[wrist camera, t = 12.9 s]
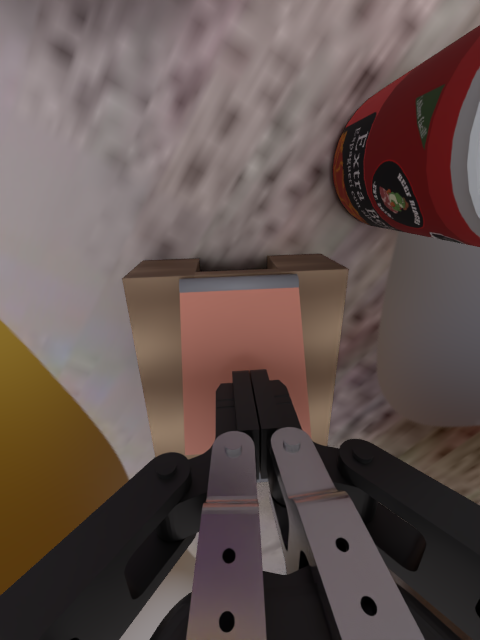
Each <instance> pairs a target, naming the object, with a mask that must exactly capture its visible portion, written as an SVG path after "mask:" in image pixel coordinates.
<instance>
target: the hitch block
mask: <svg viewBox="0 0 480 640" xmlns="http://www.w3.org/2000/svg"><path fill="white" fill-rule="evenodd" d="M348 272H349V269H348V268H346V267H344V266H342V265H340V264H339V263H337V262H335V261H333V260H331V259H329V258H328V257H326V256H324V255H322V254H302V255H276V256H267V269H256V270H232V271H207V272H200V263H199V258H198V259H172V260H146V261H142V262H141V263H140V264H138V265H137V266H136V267H135V268H134V269H133V270H132V271H130V272H129V273H128V274H127V275H126V276H125V277H124V278H122V280H123V285H124V290H125V296H126V301H127V306H128V312H129V317H130V323H131V328H132V333H133V339H134V344H135V349H136V355H137V360H138V366H139V371H140V376H141V382H142V387H143V392H144V398H145V403H146V408H147V414H148V419H149V425H150V430H151V435H152V441H153V446H154V451H155V457H157V456H159V455H161V454H164V453H168V452H177V453H180V454H182V455H184V456H185V457H186V458H187V459H191V458H194V457H197V456H199V455H201V454H196V455H185V439H184V409H183V380H182V350H181V320H180V292H179V279H188V278H212V277H235V276H259V275H283V274H297V275H298V279H299V296H300V307H301V319H302V331H303V343H304V355H305V367H306V379H307V391H308V403H309V415H310V427H311V439H312V441H313V442H315V443H317V444H320V445H323V446H327V442H328V434H329V426H330V418H331V409H332V401H333V393H334V385H335V377H336V369H337V361H338V353H339V345H340V336H341V328H342V320H343V312H344V304H345V296H346V288H347V280H348Z"/></svg>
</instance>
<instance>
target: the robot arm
mask: <svg viewBox="0 0 480 640" xmlns="http://www.w3.org/2000/svg"><path fill="white" fill-rule="evenodd" d="M259 469H260V476H261V479H268V481H269V487H270V504H271V508H272V512H273V516H274V519H275V523H276V527H277V531H278V535H279V539H280V543H281V547H282V551H283V555H284V560H285V565H286V575H280V574H275V573H270V572H265V571H263V570H262V553H261V536H260V519H259V504H258V499H257V480H259ZM380 503H381V504H380ZM383 505H384V506H385V507H384V506H383ZM387 508H388V509H387ZM390 510H391V511H390ZM394 513H395V514H394ZM397 515H398V516H397ZM400 517H401V518H402V519H401V518H400ZM404 520H405V521H404ZM407 522H408V523H407ZM410 524H411V525H412V526H411V525H410ZM414 527H415V528H414ZM197 532H199V538H198V546H197V555H196V563H195V571H194V579H193V587H192V592H191V593H189V594H188V595H187V596H185V597H184V598H183V599H182V600H180V601H179V602H178V603H177V604H176V605H175V606H174V607H173V608H172V609H171V610H170V611H169V613H168V614H167V615H166V616H165V618H164V619H163V620H162V622H161V623H160V625H159V626H158V627H157V629H156V631H155V632H154V634H153V635H152V637H151V638H150V640H462V639H461V638H460V637H459V636H457V635H456V634H455V633H454V632H453V631H452V630H451V629H450V628H448V627H447V626H446V625H445V624H444V623H443V622H442V621H441V620H440V619H438V618H437V617H436V616H435V615H434V614H433V613H432V612H431V611H430V610H428V609H427V608H426V607H425V606H424V605H423V604H422V603H421V602H420V601H418V600H417V599H416V598H415V597H414V596H413V595H411V594H410V593H409V592H408V591H406V590H405V589H404V588H402V587H401V586H400V585H398V584H396V583H395V582H394V580H393V578H392V576H391V574H390V572H389V570H388V568H389V569H390V570H391V571H392V572H393V573H395V574H396V575H397V576H398V577H399V578H400V579H402V580H403V581H404V582H405V583H406V584H408V585H409V586H410V587H411V588H412V589H414V590H415V591H416V592H417V593H418V594H419V595H421V596H422V597H423V598H424V599H425V600H427V601H428V602H429V603H430V604H431V605H433V606H434V607H435V608H436V609H437V610H438V611H440V612H441V613H442V614H443V615H444V616H446V617H447V618H448V619H449V620H450V621H452V622H453V623H454V624H455V625H456V626H458V627H459V628H460V629H461V630H462V631H463V632H465V633H466V634H467V635H468V636H469V637H471V638H472V639H473V640H480V506H479V505H478V504H476V503H474V502H473V501H471V500H469V499H467V498H466V497H464V496H462V495H460V494H459V493H457V492H455V491H453V490H452V489H450V488H448V487H447V486H445V485H443V484H441V483H440V482H438V481H436V480H434V479H433V478H431V477H429V476H427V475H426V474H424V473H422V472H420V471H419V470H417V469H415V468H414V467H412V466H410V465H408V464H407V463H405V462H403V461H401V460H400V459H398V458H396V457H394V456H393V455H391V454H389V453H388V452H386V451H384V450H382V449H381V448H379V447H377V446H375V445H374V444H372V443H370V442H367V441H365V440H361V439H350V440H347V441H345V442H343V443H342V445H341V446H340V449H338V448H333V447H328V446H323V445H320V444H317V443H315V442H313V441H312V439H311V438H310V436H309V435H308V434H307V433H306V432H304V431H303V430H302V428H301V425H300V422H299V419H298V417H297V414H296V411H295V409H294V406H293V404H292V400H291V398H290V395H289V392H288V389H287V387H286V386H285V385H284V384H283V383H282V382H281V381H280V380H269V377H268V373H267V370H266V369H258V370H250V371H249V370H242V371H232V383H221V384H220V385H219V387H218V388H217V390H216V435H215V441H214V443H213V445H212V446H211V448H210V449H209V450H207V451H206V452H205V453H203V454H201V455H199V456H197V457H194V458H191V459H187V458H186V457H185V456H184V455H182V454H180V453H177V452H168V453H164V454H161V455H159V456H157V457H155V458H154V459H153V460H152V461H150V462H149V463H148V464H147V465H146V466H145V467H144V468H143V469H141V470H140V471H139V472H138V473H137V474H136V475H135V476H134V477H133V478H131V479H130V480H129V481H128V482H127V483H126V484H125V485H124V486H122V487H121V488H120V489H119V490H118V491H117V492H116V493H115V494H114V495H112V496H111V497H110V498H109V499H108V500H107V501H106V502H105V503H103V504H102V505H101V506H100V507H99V508H98V509H97V510H96V511H95V512H93V513H92V514H91V515H90V516H89V517H88V518H87V519H86V520H85V521H83V522H82V523H81V524H80V525H79V526H78V527H77V528H76V529H74V530H73V531H72V532H71V533H70V534H69V535H68V536H67V537H65V538H64V539H63V540H62V541H61V542H60V543H59V544H58V545H57V546H55V547H54V549H52V550H51V551H50V552H49V553H48V554H46V555H45V556H44V557H43V558H42V559H41V560H40V561H39V562H38V563H36V565H34V566H33V567H32V568H31V569H30V570H29V571H27V572H26V573H25V574H24V575H23V576H22V577H21V578H20V579H18V580H17V581H16V582H15V583H14V584H13V585H12V586H11V587H10V588H8V589H7V590H6V591H5V592H4V593H3V594H2V595H1V596H0V640H119V639H120V638H121V636H122V635H123V634H124V632H125V631H126V630H127V628H128V627H129V625H130V624H131V623H132V622H133V620H134V619H135V617H136V616H137V615H138V614H139V612H140V611H141V610H142V608H143V607H144V605H145V604H146V603H147V601H148V600H149V599H150V597H151V596H152V595H153V593H154V592H155V591H156V589H157V588H158V587H159V585H160V584H161V582H162V581H163V580H164V579H165V577H166V576H167V575H168V573H169V572H170V571H171V569H172V568H173V566H174V565H175V564H176V563H177V561H178V560H179V559H180V557H181V556H182V554H183V553H184V552H185V550H186V549H187V548H188V546H189V545H190V544H191V542H192V541H193V539H194V538H195V536H196V533H197Z"/></svg>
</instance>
